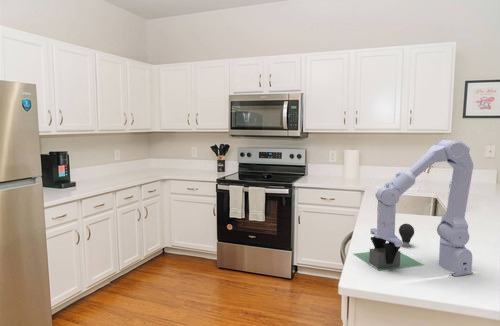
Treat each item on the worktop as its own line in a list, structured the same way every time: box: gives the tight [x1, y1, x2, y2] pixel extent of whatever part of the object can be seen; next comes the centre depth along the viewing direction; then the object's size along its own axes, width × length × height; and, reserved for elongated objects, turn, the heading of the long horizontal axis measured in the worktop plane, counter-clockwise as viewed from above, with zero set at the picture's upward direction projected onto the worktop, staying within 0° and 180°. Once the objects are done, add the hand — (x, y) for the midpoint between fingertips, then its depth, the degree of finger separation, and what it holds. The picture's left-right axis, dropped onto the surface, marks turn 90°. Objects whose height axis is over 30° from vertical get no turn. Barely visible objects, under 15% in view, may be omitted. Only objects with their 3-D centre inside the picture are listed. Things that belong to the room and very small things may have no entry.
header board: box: [353, 251, 424, 272], centre depth 124 cm, size 16×18×4 cm
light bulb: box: [398, 223, 415, 248], centre depth 138 cm, size 6×6×10 cm
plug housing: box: [369, 247, 401, 268], centre depth 119 cm, size 5×9×5 cm, turn 105°
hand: (384, 260), depth 119 cm, fingers closed on plug housing, 5 cm apart
